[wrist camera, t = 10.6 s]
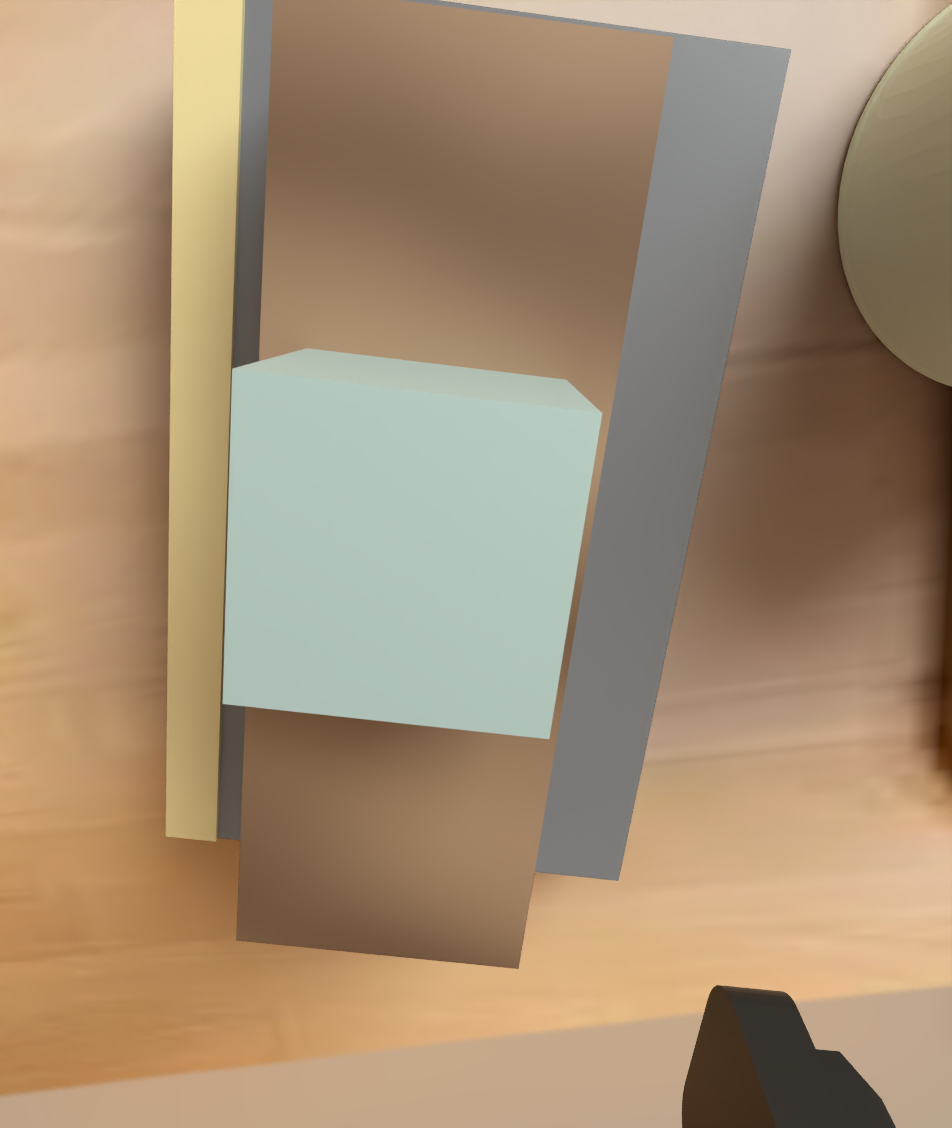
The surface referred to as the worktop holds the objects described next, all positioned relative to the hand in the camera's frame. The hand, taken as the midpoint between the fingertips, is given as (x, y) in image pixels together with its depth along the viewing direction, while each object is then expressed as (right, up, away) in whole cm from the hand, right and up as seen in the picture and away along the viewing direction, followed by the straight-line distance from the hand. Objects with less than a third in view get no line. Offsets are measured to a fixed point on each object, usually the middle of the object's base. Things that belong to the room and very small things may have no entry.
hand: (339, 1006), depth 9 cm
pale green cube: (+1, +6, +4) cm, 7 cm away
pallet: (+1, +6, +8) cm, 10 cm away
